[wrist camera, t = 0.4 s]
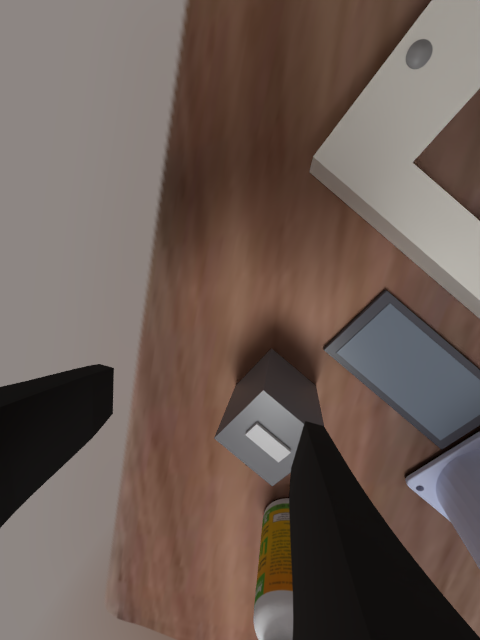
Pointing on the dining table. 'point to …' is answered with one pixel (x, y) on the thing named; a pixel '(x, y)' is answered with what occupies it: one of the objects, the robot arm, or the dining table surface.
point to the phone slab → (411, 369)
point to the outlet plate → (413, 147)
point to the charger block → (269, 416)
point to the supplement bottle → (274, 576)
